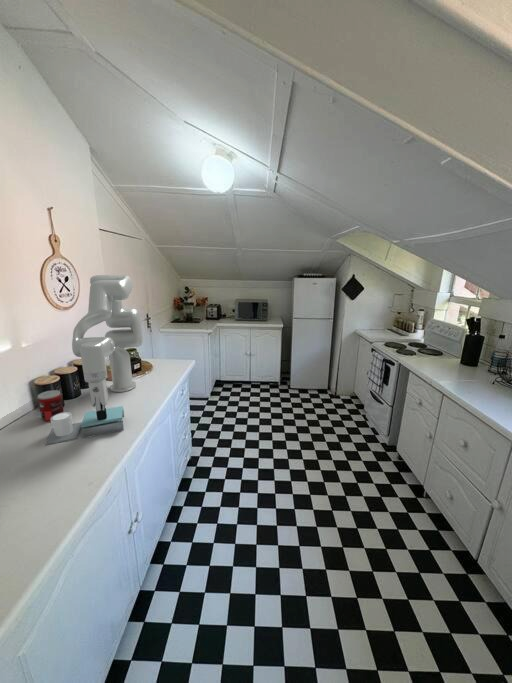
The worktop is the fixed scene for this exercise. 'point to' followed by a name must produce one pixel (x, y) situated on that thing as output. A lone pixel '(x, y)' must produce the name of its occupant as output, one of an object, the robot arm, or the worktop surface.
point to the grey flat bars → (103, 428)
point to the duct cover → (112, 416)
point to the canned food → (50, 404)
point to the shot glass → (62, 423)
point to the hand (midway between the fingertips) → (102, 418)
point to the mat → (72, 436)
